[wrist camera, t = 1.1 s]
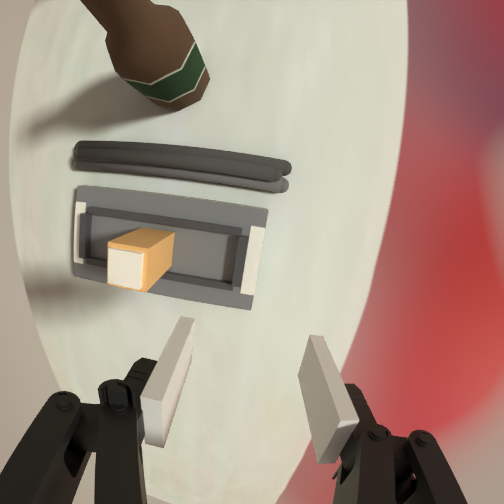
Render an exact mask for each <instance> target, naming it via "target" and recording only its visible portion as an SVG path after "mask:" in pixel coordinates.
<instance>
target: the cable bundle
mask: <svg viewBox="0 0 504 504" xmlns="http://www.w3.org/2000/svg"><path fill="white" fill-rule="evenodd" d="M74 157H75V158H74V160H73V166H74V168H76V169H84V170H99V171H113V172H125V173H136V174H147V175H156V176H166V177H174V178H183V179H191V180H199V181H206V182H214V183H221V184H228V185H234V186H241V187H247V188H254V189H260V190H266V191H272V192H278V193H283V192H285V191H287V189H288V187H289V183H288V181H287V180H286V179H285V178H283V177H282V176H286V175H288V174H289V173H290V172H291V169H292V167H291V164H290V163H289V162H288V161H286V160H281V159H275V158H269V157H263V156H257V155H251V154H244V153H238V152H230V151H223V150H215V149H207V148H198V147H189V146H179V145H168V144H155V143H140V142H120V141H79V142H77V144H76V145H75V153H74Z"/></svg>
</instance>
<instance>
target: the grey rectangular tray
mask: <svg viewBox="0 0 504 504" xmlns="http://www.w3.org/2000/svg"><path fill="white" fill-rule="evenodd" d="M267 215H268V209H265V208H259V207H253V206H247V205H240V204H234V203H227V202H221V201H214V200H207V199H200V198H192V197H185V196H177V195H170V194H162V193H153V192H145V191H136V190H127V189H118V188H108V187H98V186H87V185H83V186H78V188H77V199H76V207H75V225H74V276H76V277H80V278H84V279H89V280H93V281H97V282H102V283H106V284H107V250H108V242H109V241H111V240H113V239H116V238H118V237H120V236H123V235H125V234H127V233H130V232H132V231H135V230H137V229H140V228H142V227H145V228H151V229H158V230H164V231H171V232H175V236H174V245H173V256H172V266H171V267H170V268H169V269H168V270H167V271H166V272H165V273H164V274H163V275H162V276H161V277H160V278H159V279H158V280H157V281H156V282H155V284H154V285H153V286H152V287H151V288H150V289H149V290H148V291H147V292H148V293H153V294H158V295H163V296H169V297H174V298H179V299H185V300H190V301H196V302H202V303H208V304H214V305H220V306H226V307H232V308H239V309H245V310H251V307H252V302H253V296H254V291H255V285H256V279H257V274H258V268H259V262H260V256H261V251H262V245H263V239H264V233H265V227H266V221H267Z"/></svg>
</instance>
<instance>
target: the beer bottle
mask: <svg viewBox="0 0 504 504" xmlns="http://www.w3.org/2000/svg"><path fill="white" fill-rule="evenodd" d="M81 2H82V3H83V4H84V5H85V6H86V7H87V9H88V10H89V11H90V12H91V13H92V15H93V16H94V17H95V18H96V19H97V20H98V22H99V23H100V24H101V25H102V26H103V28H104V29H105V30H106V31H107V36H106V40H105V41H106V46H107V49H108V52H109V55H110V58H111V61H112V64H113V66H114V69H115V71H116V72H117V73H118V74H119V75H120V76H121V78H122V79H124V80H125V81H126V82H128V83H129V84H130V85H132V86H133V87H134V88H135V89H137V90H138V91H139V92H141V93H142V94H143V95H144V96H146V97H147V98H148V99H149V100H151V101H152V102H153V103H155V104H157V105H159V106H163V107H167V108H171V109H174V110H178V111H179V110H181V109H183V108H185V107H187V106H189V105H191V104H193V103H195V102H197V101H200V100H201V98H202V96H203V93H204V91H205V89H206V87H207V85H208V83H209V80H210V78H209V74H208V71H207V69H206V66H205V64H204V62H203V59H202V57H201V54H200V52H199V49H198V47H197V44H196V42H195V40H194V38H193V36H192V34H191V32H190V30H189V28H188V26H187V25H186V23H185V21H184V19H183V17H182V16H181V14H180V13H179V11H178V10H176V9H174V8H172V7H170V6H166V5H156V4H154V3H152V2H151V1H150V0H81Z"/></svg>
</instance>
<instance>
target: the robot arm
mask: <svg viewBox="0 0 504 504" xmlns="http://www.w3.org/2000/svg"><path fill="white" fill-rule="evenodd" d="M194 324H195V319H194V318H188V317H183V316H181V317H180V319H179V321H178V323H177V325H176V326H175V328H174V330H173V332H172V334H171V336H170V338H169V340H168V342H167V344H166V346H165V348H164V350H163V352H162V354H161V356H160V358H159V360H158V361H155V360H151V359H147V358H141V359H139V360H138V361H136V362H135V363H134V364H133V366H132V367H131V369H130V371H129V372H128V374H127V377H125V379H124V380H119V379H111V380H108V381H104V382H103V383H102V384H100V386H99V388H98V393H99V398H100V404H87V403H81V402H80V399H79V398H78V397H77V395H75V394H73V393H71V392H67V391H60V392H57V393H54V394H53V395H51V396H50V398H49V399H48V401H47V402H46V403H45V405H44V406H43V407H42V409H41V410H40V412H39V413H38V415H37V416H36V418H35V419H34V421H33V422H32V424H31V426H30V427H29V428H28V430H27V431H26V433H25V434H24V436H23V438H22V439H21V441H20V442H19V444H18V445H17V447H16V449H15V450H14V452H13V454H12V455H11V457H10V458H9V460H8V462H7V464H6V465H5V467H4V469H3V471H2V472H1V474H0V504H72V502H73V499H74V496H75V494H76V491H77V488H78V486H79V483H80V480H81V478H82V475H83V473H84V470H85V468H86V465H87V463H88V460H89V458H90V455H91V453H92V452H96V464H95V496H94V497H95V498H94V499H95V500H94V501H95V504H147V498H146V489H145V480H144V470H143V457H142V447H141V444H142V441H143V439H144V438H145V444H149V445H153V446H157V447H161V448H164V446H165V443H166V439H167V436H168V433H169V430H170V426H171V423H172V420H173V417H174V414H175V410H176V407H177V404H178V401H179V398H180V395H181V391H182V388H183V385H184V382H185V379H186V376H187V373H188V370H189V367H190V364H191V359H192V347H193V335H194ZM298 378H299V382H300V386H301V391H302V395H303V400H304V404H305V408H306V413H307V417H308V422H309V426H310V431H311V436H312V440H313V445H314V449H315V453H316V459H317V463H318V464H326V463H335V462H336V460H337V459H338V457H339V456H340V457H341V460H342V463H341V465H340V466H339V468H338V469H337V471H336V472H335V474H334V476H333V478H332V479H335V478H336V476H337V482H336V488H335V494H334V500H333V504H467V501H466V499H465V497H464V495H463V493H462V491H461V489H460V486H459V484H458V483H457V480H456V478H455V476H454V474H453V472H452V470H451V468H450V466H449V464H448V462H447V460H446V458H445V457H444V455H443V453H442V451H441V449H440V447H439V445H438V443H437V441H436V439H435V438H434V437H433V435H432V434H430V433H429V432H427V431H424V430H416V431H413V432H412V433H411V434H410V435H409V437H408V438H406V437H398V436H393V435H391V432H390V431H389V430H388V429H387V428H386V427H384V426H382V425H379V424H377V423H376V421H375V418H374V416H373V414H372V412H371V410H370V408H369V406H368V405H367V402H366V400H365V399H364V396H363V394H362V392H361V390H360V389H359V388H358V387H357V386H356V385H355V384H344V383H343V381H342V378H341V376H340V373H339V371H338V369H337V367H336V364H335V362H334V360H333V358H332V355H331V353H330V351H329V349H328V346H327V344H326V342H325V340H324V337H323V336H316V335H309V339H308V343H307V346H306V350H305V353H304V357H303V360H302V363H301V367H300V370H299V373H298ZM413 474H414V475H415V477H416V478H415V477H414V475H413Z"/></svg>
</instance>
